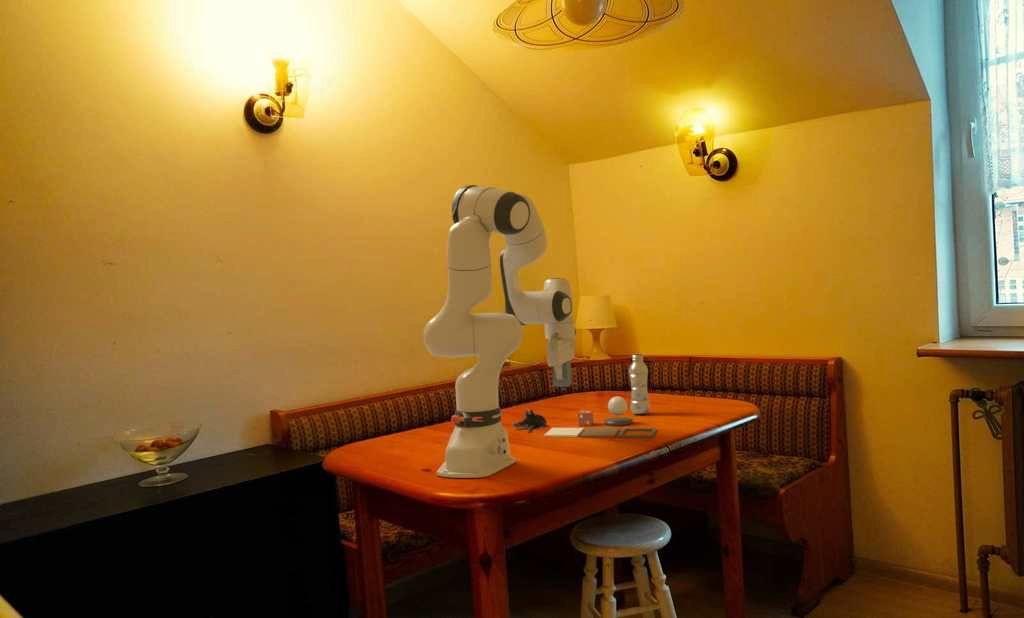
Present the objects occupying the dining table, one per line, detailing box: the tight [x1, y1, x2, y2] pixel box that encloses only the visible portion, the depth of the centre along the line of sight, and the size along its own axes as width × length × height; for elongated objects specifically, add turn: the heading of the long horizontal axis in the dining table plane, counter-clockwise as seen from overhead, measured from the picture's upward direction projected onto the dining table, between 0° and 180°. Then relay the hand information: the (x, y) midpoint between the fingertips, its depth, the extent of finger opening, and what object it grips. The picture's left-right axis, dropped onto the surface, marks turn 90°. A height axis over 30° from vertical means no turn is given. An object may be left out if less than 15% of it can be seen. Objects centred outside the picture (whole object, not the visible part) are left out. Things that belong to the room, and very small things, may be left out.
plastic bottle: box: [628, 353, 651, 416], centre depth 239 cm, size 6×7×20 cm
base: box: [603, 416, 634, 427], centre depth 226 cm, size 9×9×1 cm
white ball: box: [607, 396, 628, 417], centre depth 226 cm, size 6×6×6 cm
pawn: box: [552, 360, 573, 388], centre depth 215 cm, size 4×4×10 cm
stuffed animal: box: [511, 409, 547, 434], centre depth 228 cm, size 12×10×12 cm
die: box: [577, 410, 595, 427], centre depth 227 cm, size 4×4×4 cm
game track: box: [543, 427, 657, 439], centre depth 213 cm, size 10×32×1 cm, turn 72°
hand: (562, 377), depth 216 cm, fingers closed on pawn, 4 cm apart
